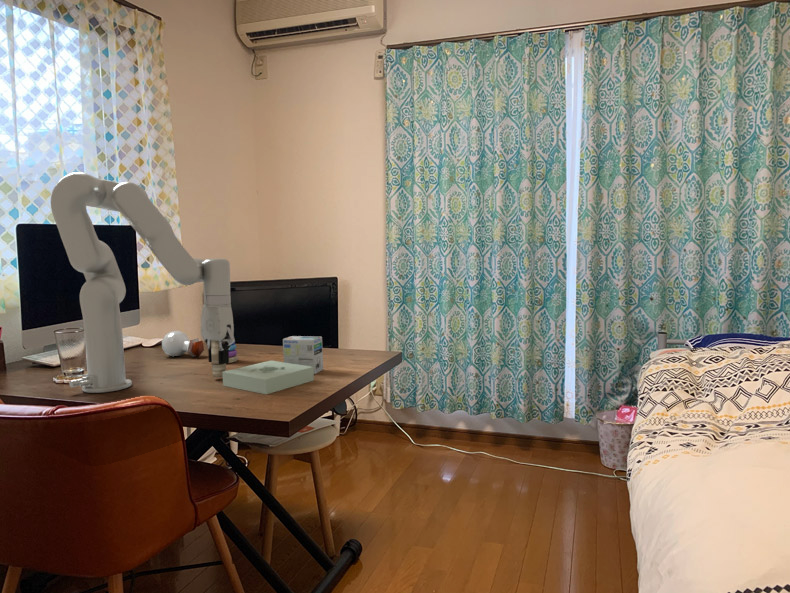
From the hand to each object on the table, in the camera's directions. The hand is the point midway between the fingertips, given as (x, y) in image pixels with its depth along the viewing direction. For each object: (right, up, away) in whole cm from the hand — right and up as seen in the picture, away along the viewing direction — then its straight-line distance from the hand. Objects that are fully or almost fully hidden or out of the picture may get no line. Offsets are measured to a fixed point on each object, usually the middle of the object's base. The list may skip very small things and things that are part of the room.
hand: (218, 361), depth 171 cm
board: (+16, -6, -6) cm, 18 cm away
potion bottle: (-24, -3, +37) cm, 45 cm away
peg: (0, -4, 0) cm, 4 cm away
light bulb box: (+24, -4, +9) cm, 26 cm away
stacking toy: (-5, -3, +26) cm, 27 cm away
